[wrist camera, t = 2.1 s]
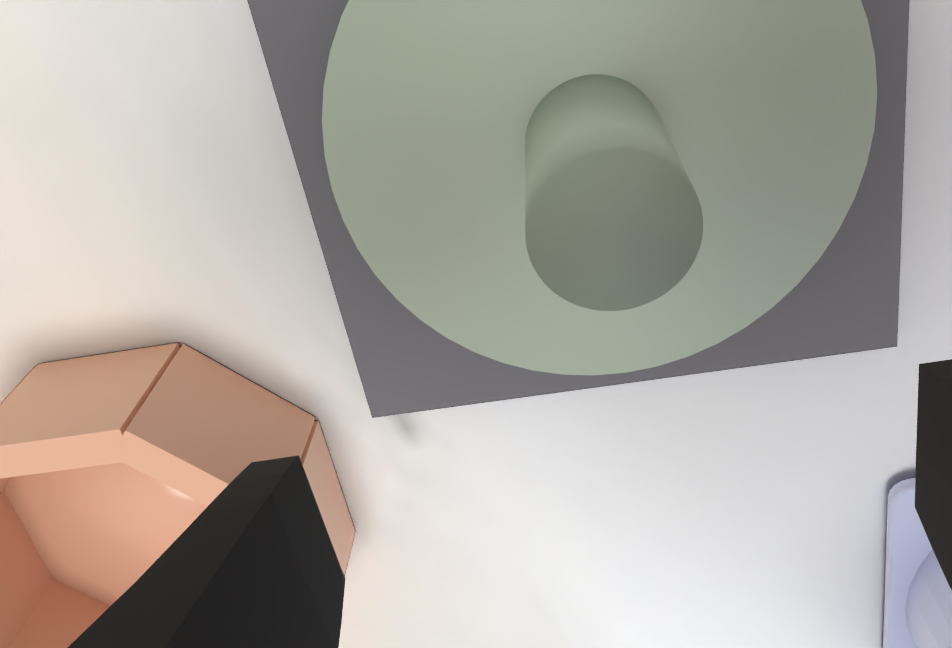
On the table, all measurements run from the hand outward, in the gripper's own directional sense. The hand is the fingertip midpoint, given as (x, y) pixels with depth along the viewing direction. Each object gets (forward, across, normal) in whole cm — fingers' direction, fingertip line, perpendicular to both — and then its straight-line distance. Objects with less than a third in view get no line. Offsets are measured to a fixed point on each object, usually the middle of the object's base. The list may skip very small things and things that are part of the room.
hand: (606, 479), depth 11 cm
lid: (+9, -1, -1) cm, 9 cm away
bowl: (+10, +12, +6) cm, 16 cm away
